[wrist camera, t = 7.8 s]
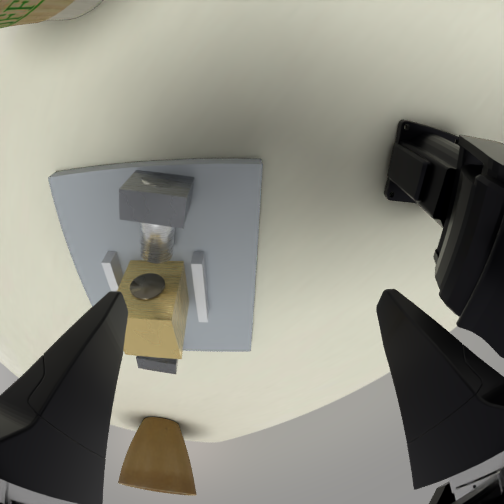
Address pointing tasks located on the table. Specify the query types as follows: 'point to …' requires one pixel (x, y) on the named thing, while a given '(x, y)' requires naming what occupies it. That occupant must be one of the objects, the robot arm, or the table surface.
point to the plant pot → (158, 459)
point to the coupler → (155, 308)
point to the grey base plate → (185, 240)
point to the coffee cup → (42, 10)
